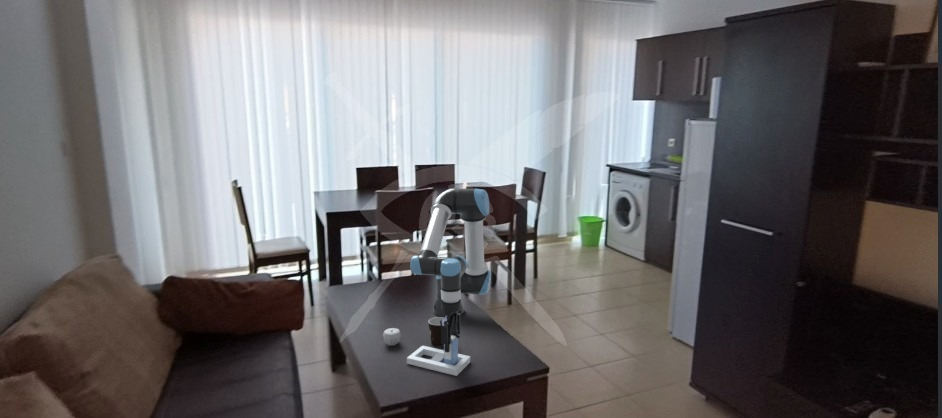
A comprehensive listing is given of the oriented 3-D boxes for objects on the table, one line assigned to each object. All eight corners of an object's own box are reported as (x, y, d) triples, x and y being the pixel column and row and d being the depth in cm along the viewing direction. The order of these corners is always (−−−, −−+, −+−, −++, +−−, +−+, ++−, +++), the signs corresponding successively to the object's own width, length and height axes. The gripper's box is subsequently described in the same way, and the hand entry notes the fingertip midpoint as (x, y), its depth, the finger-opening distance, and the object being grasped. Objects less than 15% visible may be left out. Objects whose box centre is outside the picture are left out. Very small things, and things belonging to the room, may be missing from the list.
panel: (422, 351, 216) (422, 345, 215) (470, 362, 207) (470, 356, 206) (407, 363, 205) (406, 357, 205) (456, 375, 196) (456, 369, 195)
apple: (394, 338, 228) (394, 324, 226) (405, 344, 222) (405, 329, 221) (379, 344, 222) (378, 329, 221) (390, 350, 217) (389, 335, 215)
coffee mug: (445, 348, 218) (445, 326, 216) (426, 346, 220) (425, 324, 218) (452, 336, 229) (452, 315, 228) (433, 334, 231) (433, 313, 229)
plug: (448, 359, 206) (448, 333, 204) (457, 361, 204) (457, 335, 202) (444, 363, 202) (443, 337, 200) (453, 365, 201) (453, 339, 199)
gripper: (452, 291, 207) (452, 345, 212) (431, 305, 192) (431, 363, 197) (469, 293, 204) (469, 349, 209) (449, 308, 189) (449, 368, 194)
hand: (451, 356), depth 203 cm, fingers closed on plug, 4 cm apart
